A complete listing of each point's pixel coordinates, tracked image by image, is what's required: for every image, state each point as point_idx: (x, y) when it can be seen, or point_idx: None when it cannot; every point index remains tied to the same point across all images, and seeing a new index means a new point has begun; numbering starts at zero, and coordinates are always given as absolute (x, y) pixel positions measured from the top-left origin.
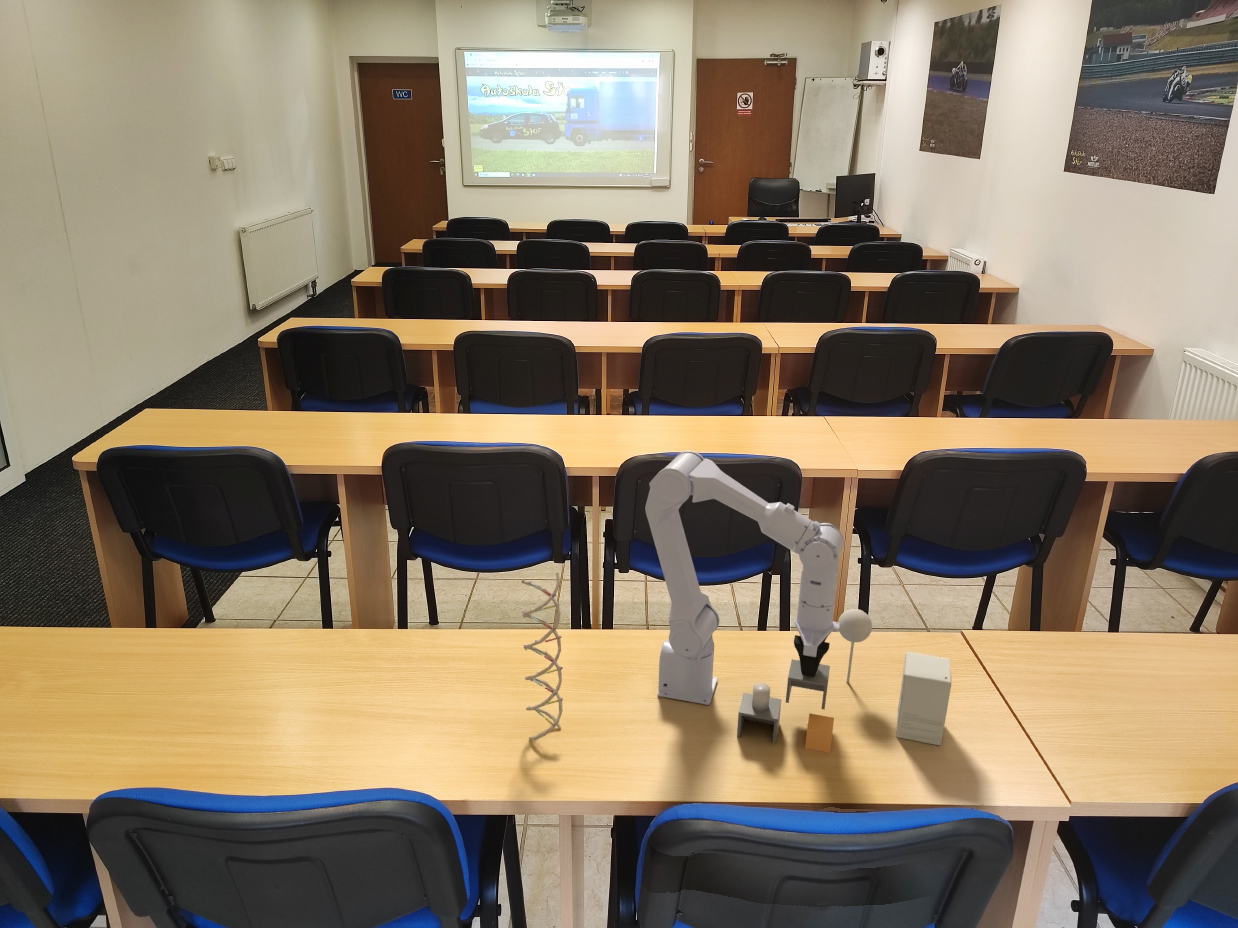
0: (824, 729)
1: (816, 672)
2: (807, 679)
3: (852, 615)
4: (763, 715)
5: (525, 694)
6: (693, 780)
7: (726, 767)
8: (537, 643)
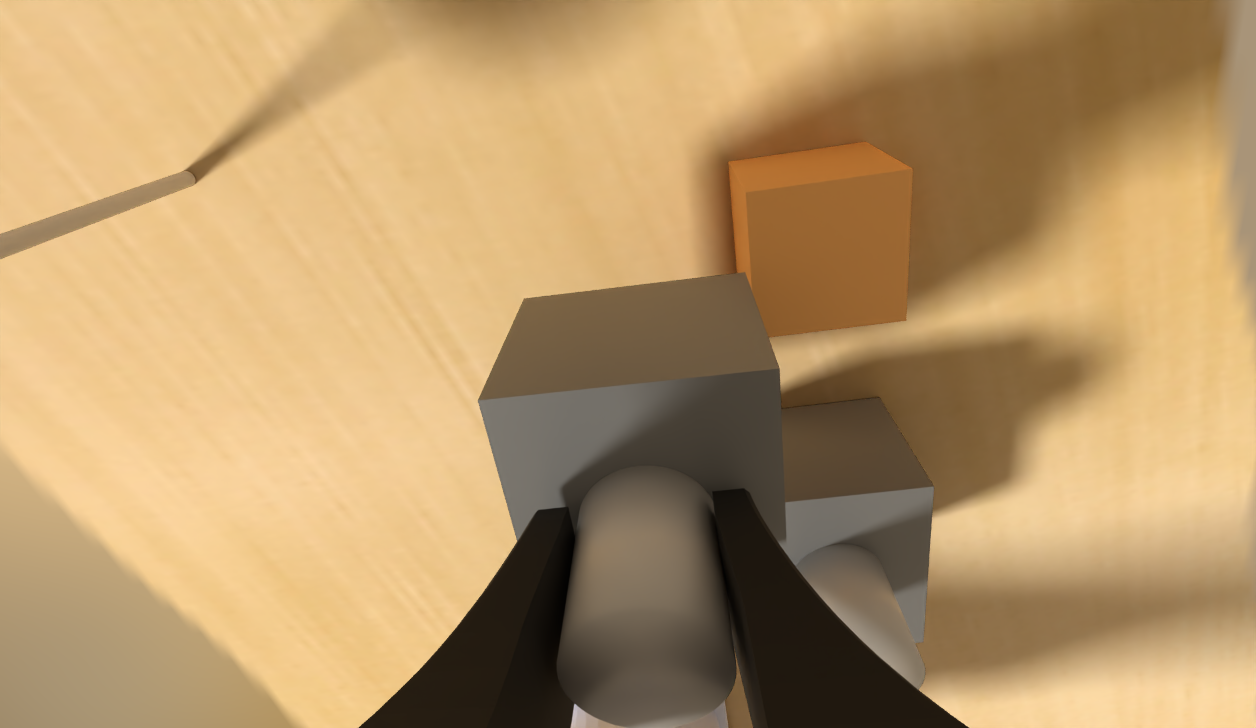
0: (891, 223)
1: (755, 509)
2: (769, 513)
3: None
4: (920, 550)
5: None
6: (1176, 596)
7: (1082, 523)
8: None
